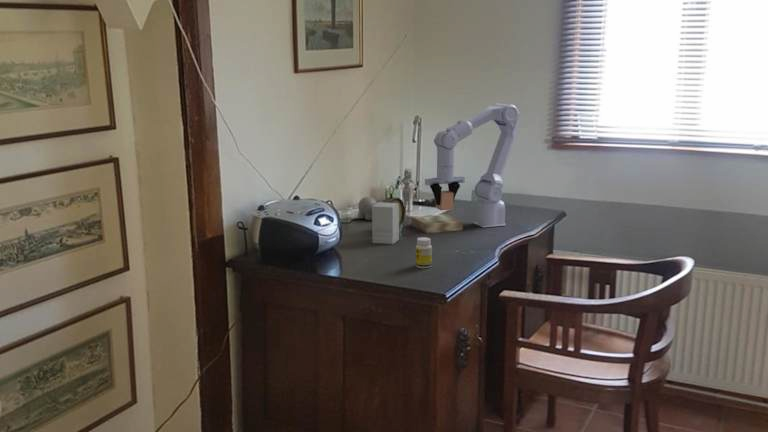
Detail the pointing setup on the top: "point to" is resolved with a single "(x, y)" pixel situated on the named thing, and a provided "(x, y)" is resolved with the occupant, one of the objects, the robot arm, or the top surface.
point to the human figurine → (407, 189)
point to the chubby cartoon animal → (366, 208)
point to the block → (446, 201)
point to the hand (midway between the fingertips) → (444, 204)
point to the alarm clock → (401, 206)
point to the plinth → (436, 223)
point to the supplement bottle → (423, 253)
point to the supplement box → (385, 222)
